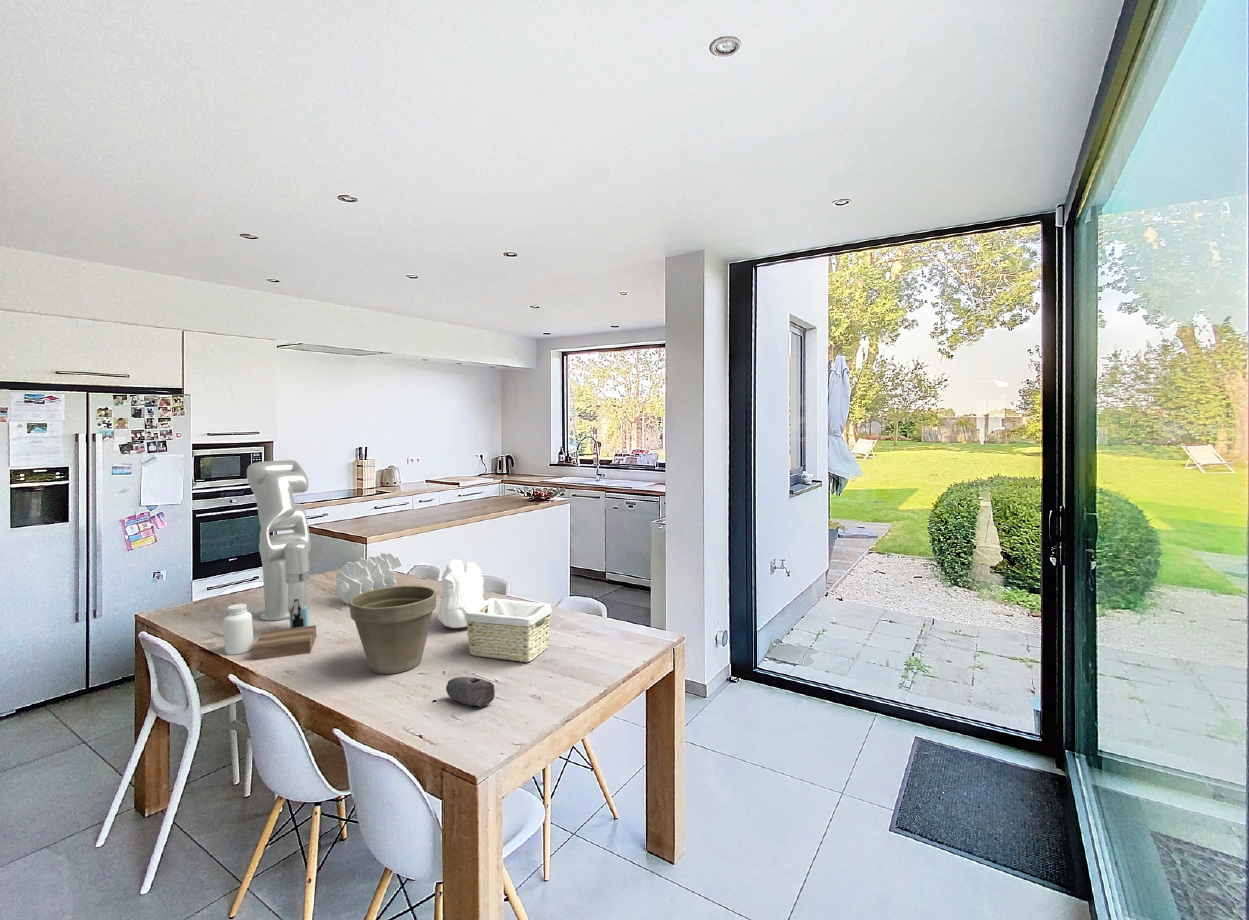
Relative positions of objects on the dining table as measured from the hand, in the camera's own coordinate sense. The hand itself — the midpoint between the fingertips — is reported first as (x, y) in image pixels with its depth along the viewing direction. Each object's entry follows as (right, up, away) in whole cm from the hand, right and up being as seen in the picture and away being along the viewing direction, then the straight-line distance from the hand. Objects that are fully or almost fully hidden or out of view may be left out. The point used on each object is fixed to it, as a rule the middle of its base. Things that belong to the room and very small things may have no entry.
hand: (299, 626), depth 213 cm
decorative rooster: (+58, -1, +9) cm, 58 cm away
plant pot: (+45, -4, -29) cm, 54 cm away
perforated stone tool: (+74, -6, -54) cm, 92 cm away
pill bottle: (-11, -3, -17) cm, 20 cm away
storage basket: (+78, -3, -19) cm, 81 cm away
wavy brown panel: (+3, -3, -15) cm, 15 cm away
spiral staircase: (+7, +1, +40) cm, 41 cm away
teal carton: (0, -2, 0) cm, 2 cm away
